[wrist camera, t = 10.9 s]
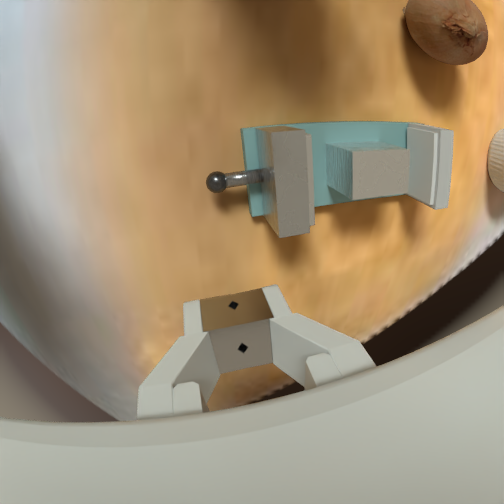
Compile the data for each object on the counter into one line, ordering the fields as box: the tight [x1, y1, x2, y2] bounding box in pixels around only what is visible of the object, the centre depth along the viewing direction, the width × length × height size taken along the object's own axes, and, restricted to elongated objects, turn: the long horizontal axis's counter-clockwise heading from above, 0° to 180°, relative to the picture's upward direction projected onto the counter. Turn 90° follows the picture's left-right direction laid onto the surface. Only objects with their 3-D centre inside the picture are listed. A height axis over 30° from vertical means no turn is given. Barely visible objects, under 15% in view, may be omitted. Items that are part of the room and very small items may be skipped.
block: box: [325, 141, 410, 200], centre depth 25 cm, size 6×4×5 cm, turn 96°
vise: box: [241, 121, 453, 217], centre depth 25 cm, size 20×8×6 cm, turn 96°
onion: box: [403, 0, 488, 65], centre depth 19 cm, size 10×9×10 cm
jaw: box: [206, 126, 315, 238], centre depth 23 cm, size 8×8×5 cm
